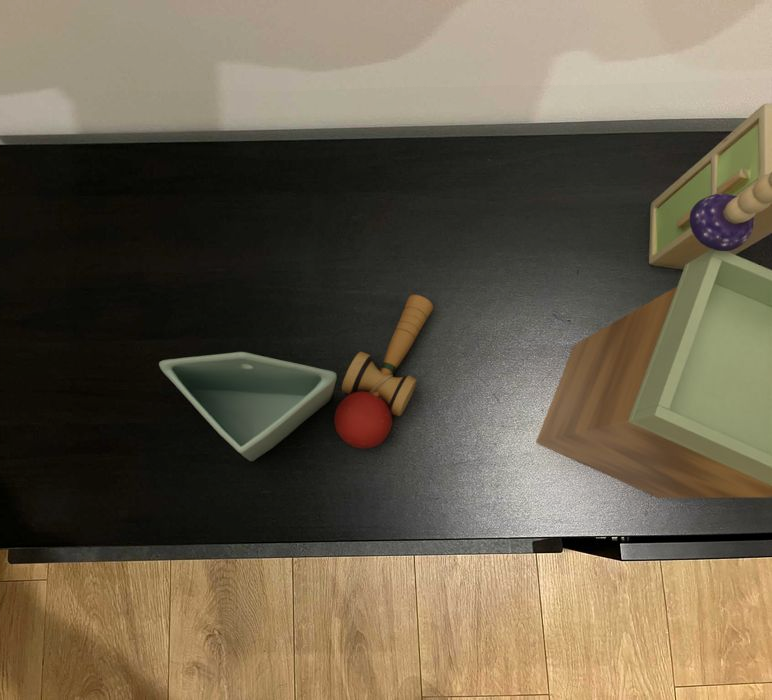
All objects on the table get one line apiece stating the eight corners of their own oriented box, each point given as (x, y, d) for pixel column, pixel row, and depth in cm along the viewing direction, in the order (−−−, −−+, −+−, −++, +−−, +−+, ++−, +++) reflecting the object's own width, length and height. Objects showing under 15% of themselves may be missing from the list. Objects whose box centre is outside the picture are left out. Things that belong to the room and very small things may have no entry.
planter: (175, 456, 75) (131, 440, 55) (183, 383, 76) (143, 344, 57) (327, 466, 75) (335, 454, 55) (331, 393, 76) (341, 357, 57)
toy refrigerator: (643, 200, 81) (758, 99, 61) (705, 208, 81) (842, 110, 61) (640, 264, 80) (757, 183, 59) (704, 273, 79) (844, 194, 59)
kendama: (379, 293, 80) (310, 430, 74) (398, 274, 74) (325, 421, 68) (436, 326, 81) (373, 464, 75) (460, 310, 75) (393, 458, 69)
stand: (693, 397, 76) (866, 351, 53) (658, 498, 74) (822, 497, 51) (574, 344, 78) (691, 277, 54) (535, 442, 75) (641, 416, 52)
